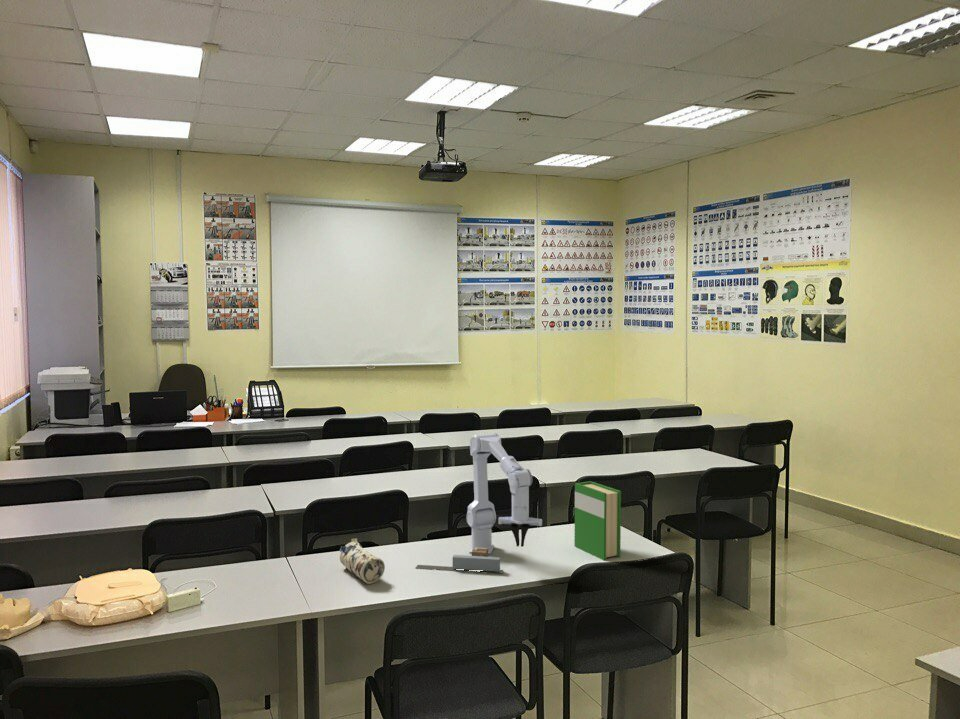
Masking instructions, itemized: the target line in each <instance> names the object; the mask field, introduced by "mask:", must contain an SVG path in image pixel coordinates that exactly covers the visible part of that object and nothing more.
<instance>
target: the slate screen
mask: <svg viewBox="0 0 960 719" xmlns="http://www.w3.org/2000/svg"><path fill="white" fill-rule="evenodd" d="M452 567H453V569H467V570H483V571H500V570H501V557H497V556H488V557H484V556H472V555H467V554H466V555H463V554H454V555H453V556H452Z"/></svg>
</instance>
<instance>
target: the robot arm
mask: <svg viewBox="0 0 960 719" xmlns="http://www.w3.org/2000/svg"><path fill="white" fill-rule="evenodd" d="M469 451H470V456H471V457H472V463H473V464H472V467H473V468H472V469H473V471H472V472H473V493H474V495H473V496H474V498H473V501H472V502H471V503H469V505H468V506H467V512H466V523H467V524H468V526H469V527H470V528H471V548H470V549H469V551H468V553H470V554H472V550H473V549H474V547H478V548H488V555H491V553H492V552H493V550H494V548H495V545H494V544H492V543H493V541H492V540H493V536H492V534H493V533H492V532H493V530H492V528H493V527H494V524H495V523H496V520H497V514H496V510H495V505H494V503H493V502H492V501H490V500H489V484H488V483H489V482H488V481H489V480H488V479H489V478H488V458H489V456H490V455H491V454H492V455H493V457H494V458H496V459H497V460H498V461H499V467H500V468H501V470H502V471H503V473H504V475H506V477H507V481H508V484H509V491H510V493H511V516H499V517H498V523H497V524H498V525H502V524H504V525H510V530H511V532H512V534H513V537H514V540H515V543H516V547H517V548H519V547H521V548H523V547H524V545H525V539H526V535H527V532H528V530H529V528H530V526H539V527H543V518H535V517H531V516H529V515H530V514H529V513H530V509H529V508H530V507H529V506H530V505H529V504H530V486H532V484H533V475H532V472H531V470H530V469H528V468H525V467H522V466H521V464H520V463H519V462H518V461H517V460H516V459H515V457H514V456H512V455H508V453H507V451H506V449H504V447H503V445H502V438H501V436H500V435H499V434H498V432H493V433H481V434H473V435H472V436H471V438H470V439H469ZM520 525H521V527H520ZM520 532H521V533H520ZM520 534H521V539H520ZM520 541H521V542H520Z"/></svg>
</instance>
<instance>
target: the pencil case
mask: <svg viewBox="0 0 960 719" xmlns="http://www.w3.org/2000/svg"><path fill="white" fill-rule="evenodd" d="M339 552H340V554H339V560H340V563H341V565H343V566H344V567H345V568H346V569H347V570H348V571H349V572H351V573H352V574H353V575H355V576H356V577H357V578H359V579H361V580H362V581H363V582H364V583H365V584H367V585H370V584H371V585H372V584H374V583H376V582H378V581H379V580H380V579H381V578H382V577H383V576H384V573H385V567H386V566H385V561H383V560H382V559H381V558H379V557H377V556H375V555H373V554H371V553H370V552H369V551H367V550H365V549H364V548H363V546H362V545H361V543H359V542H358V538H351V542H348V543H346V544H345V545H341V546H340V548H339Z"/></svg>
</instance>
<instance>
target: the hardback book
mask: <svg viewBox="0 0 960 719" xmlns="http://www.w3.org/2000/svg"><path fill="white" fill-rule="evenodd" d="M621 504H622V491H621V490H619V489H616V488H613V487H610V486H606V485H604V484H600V483H597V482H593V481H591V480H590V481H583V482H576V483H574V548H577V549H579V550H581V551H583V552H585V553H586V554H589V555H591V556H594V557H596V558H598V559H600V560H602V561H606V560H607V558H611V557H616V558H621V539H622V538H621V535H622V534H621V525H622V524H621V521H622V518H621V515H622V514H621V513H622V512H621V511H622V505H621Z"/></svg>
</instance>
